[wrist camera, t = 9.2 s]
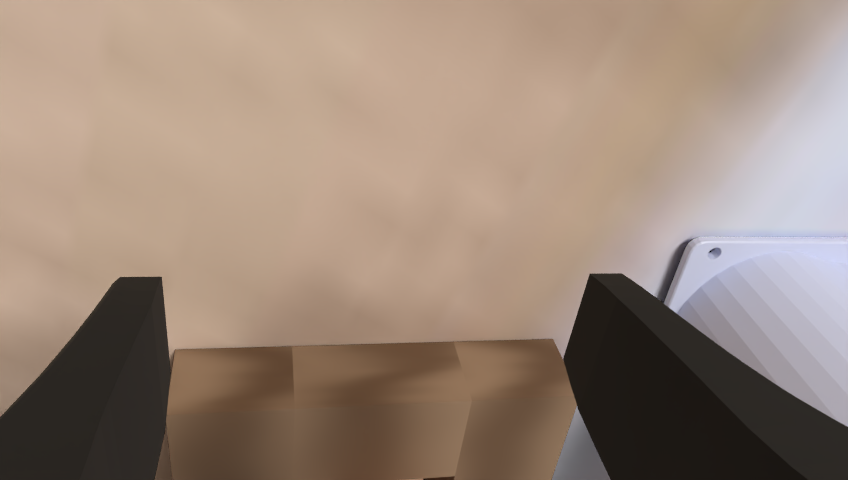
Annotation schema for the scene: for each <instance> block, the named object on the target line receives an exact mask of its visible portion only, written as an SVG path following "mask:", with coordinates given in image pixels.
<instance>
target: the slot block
mask: <svg viewBox="0 0 848 480" xmlns="http://www.w3.org/2000/svg"><path fill="white" fill-rule="evenodd" d="M576 406H577V403H576V400H575V397H574V394H573V391H572V388H571V385H570V381H569V378H568V374H567V371H566V367H565V364H564V361H563V359H562V357H561V355H560V353H559V351H558V349H557V347H556V344H555V342H554V340H553V339H540V340H504V341H468V342H433V343H397V344H361V345H326V346H290V347H255V348H219V349H183V350H175V354H174V361H173V368H172V374H171V381H170V388H169V396H168V407H167V416H166V426H167V435H168V445H169V454H170V464H171V474H172V480H409V479H423V478H427V480H551V479H552V476H553V474H554V471H555V468H556V465H557V462H558V459H559V456H560V453H561V450H562V447H563V444H564V441H565V438H566V436H567V433H568V430H569V427H570V424H571V421H572V418H573V415H574V412H575V409H576Z"/></svg>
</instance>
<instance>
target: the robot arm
mask: <svg viewBox="0 0 848 480" xmlns="http://www.w3.org/2000/svg"><path fill="white" fill-rule="evenodd" d="M713 248H715V249H714V250H713V251H712V252H710V253H709V251H710V250H712V249H713ZM563 360H564V364H565V367H566V371H567V374H568V378H569V381H570V385H571V388H572V391H573V394H574V397H575V400H576V403H577V406H578V410H579V412H580V414H581V416H582V419H583V421H584V423H585V425H586V427H587V430H588V432H589V434H590V436H591V438H592V441H593V443H594V445H595V447H596V449H597V451H598V454H599V456H600V458H601V460H602V462H603V464H604V466H605V468H606V471H607V473H608V475H609V477H610V479H611V480H848V237H697V238H695V239H693V240H692V241H690V242H689V243H688V245H687V246H686V248H685V250H684V253H683V255H682V258H681V261H680V263H679V266H678V268H677V271H676V273H675V276H674V278H673V281H672V283H671V286H670V289H669V291H668V294H667V296H666V299H665V301H664V303H662V302H661V301H660V300H658V299H657V298H656V297H654V296H653V295H652V294H650V293H649V292H648V291H646V290H645V289H643V288H642V287H641V286H639V285H638V284H636V283H635V282H634V281H632V280H631V279H629V278H628V277H626V276H625V275H623V274H590V275H589V278H588V281H587V285H586V288H585V291H584V294H583V298H582V301H581V304H580V307H579V310H578V314H577V317H576V320H575V323H574V326H573V330H572V333H571V336H570V339H569V342H568V346H567V349H566V352H565V355H564V358H563ZM170 375H171V371H170V360H169V350H168V339H167V329H166V318H165V307H164V297H163V286H162V277H120V278H119V279H117V280H116V281H115V282H114V283H113V284H112V285H111V287H110V288H109V290H108V291H107V292H106V294H105V295H104V297H103V298H102V299H101V301H100V302H99V303H98V305H97V306H96V308H95V309H94V310H93V311H92V313H91V314H90V315H89V317H88V318H87V319H86V321H85V322H84V323H83V324H82V326H81V327H80V328H79V329H78V331H77V332H76V333H75V335H74V336H73V337H72V338H71V339H70V341H69V342H68V343H67V344H66V345H65V347H64V348H63V349H62V350H61V351H60V352H59V354H58V355H57V356H56V357H55V358H54V360H53V361H52V362H51V363H50V364H49V365H48V367H47V368H46V369H45V370H44V371H43V372H42V373H41V375H40V376H39V377H38V378H37V379H36V380H35V381H34V382H33V383H32V384H31V385H30V386H29V387H28V388H27V390H26V391H25V392H24V393H23V394H22V395H21V396H20V397H19V398H18V399H17V400H16V401H15V402H14V403H13V404H12V405H11V406H10V407H9V409H8V410H7V411H6V412H5V413H4V414H3V415H2V416H1V417H0V480H154V479H155V474H156V470H157V465H158V461H159V456H160V452H161V447H162V442H163V438H164V433H165V426H166V416H167V407H168V396H169V385H170Z"/></svg>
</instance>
